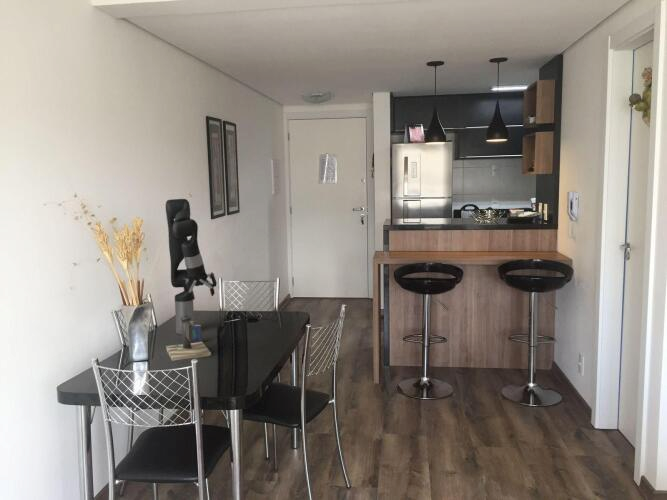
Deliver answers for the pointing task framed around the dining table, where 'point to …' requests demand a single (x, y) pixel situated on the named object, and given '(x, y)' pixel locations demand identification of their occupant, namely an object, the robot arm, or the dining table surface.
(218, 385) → the dining table surface
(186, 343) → the tuning peg
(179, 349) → the tuner board
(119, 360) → the dining table surface
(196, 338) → the flask
